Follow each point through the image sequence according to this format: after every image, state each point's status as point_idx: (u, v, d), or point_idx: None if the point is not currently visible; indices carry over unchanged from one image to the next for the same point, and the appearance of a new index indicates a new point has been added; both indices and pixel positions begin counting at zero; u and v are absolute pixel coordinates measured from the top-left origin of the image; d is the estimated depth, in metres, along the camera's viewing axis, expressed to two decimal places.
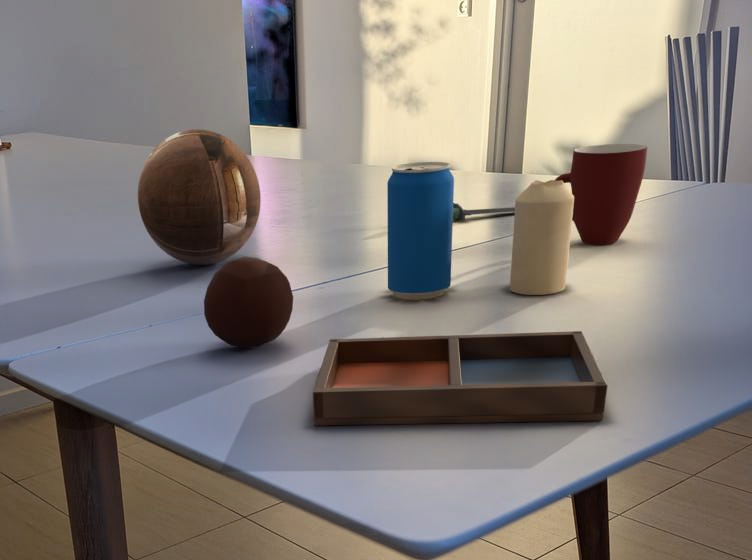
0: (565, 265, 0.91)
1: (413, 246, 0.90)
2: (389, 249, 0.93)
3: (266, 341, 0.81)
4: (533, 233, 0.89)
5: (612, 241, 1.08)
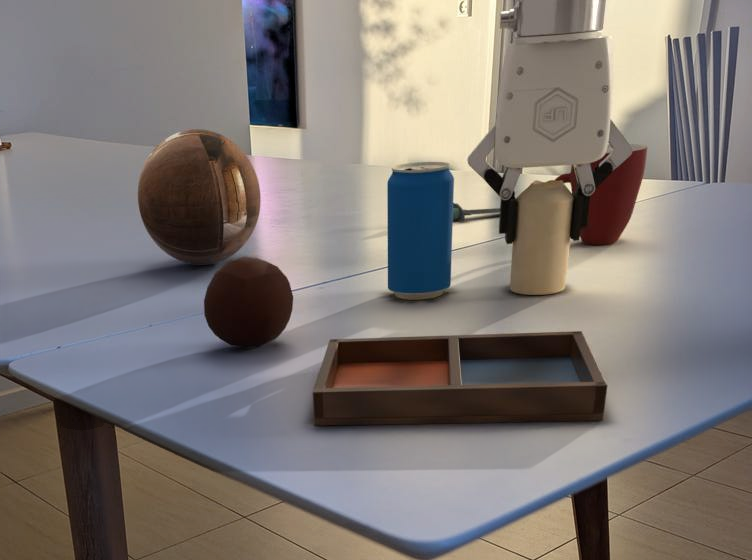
0: (565, 265, 0.91)
1: (413, 245, 0.90)
2: (389, 249, 0.93)
3: (266, 341, 0.81)
4: (533, 233, 0.89)
5: (612, 241, 1.08)
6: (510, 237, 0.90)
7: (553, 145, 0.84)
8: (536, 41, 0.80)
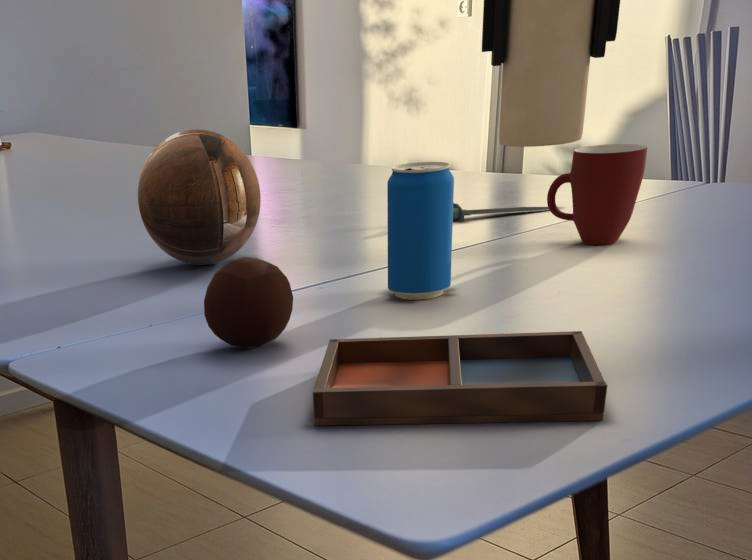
0: (582, 99, 0.60)
1: (413, 245, 0.90)
2: (389, 249, 0.93)
3: (266, 341, 0.81)
4: (533, 44, 0.57)
5: (612, 241, 1.08)
6: (498, 54, 0.59)
7: None
8: None
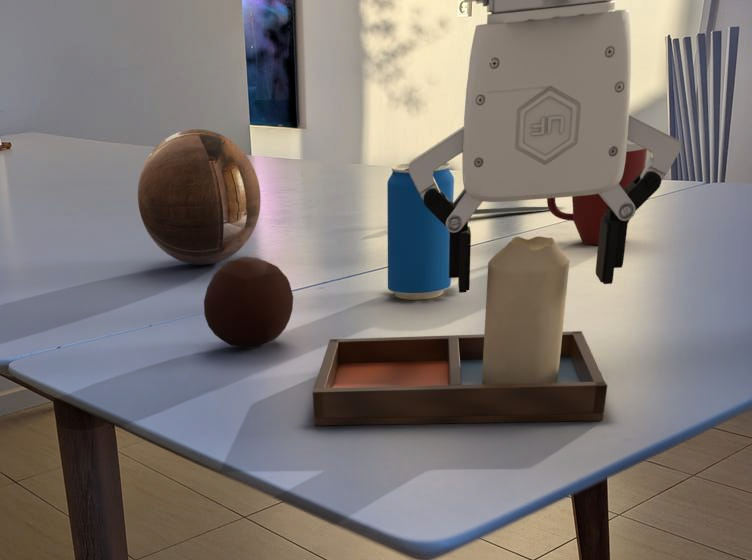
0: (557, 353, 0.66)
1: (413, 245, 0.90)
2: (389, 249, 0.93)
3: (266, 341, 0.81)
4: (512, 312, 0.64)
5: None
6: (463, 283, 0.64)
7: (545, 169, 0.58)
8: (517, 19, 0.54)
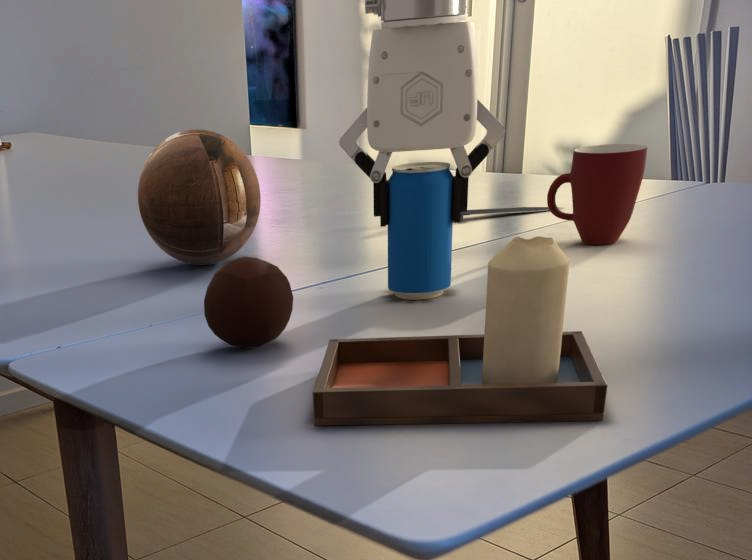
0: (557, 353, 0.66)
1: (413, 246, 0.90)
2: (389, 249, 0.93)
3: (266, 341, 0.81)
4: (512, 311, 0.64)
5: (612, 241, 1.08)
6: (383, 220, 0.91)
7: (421, 129, 0.85)
8: (397, 25, 0.80)
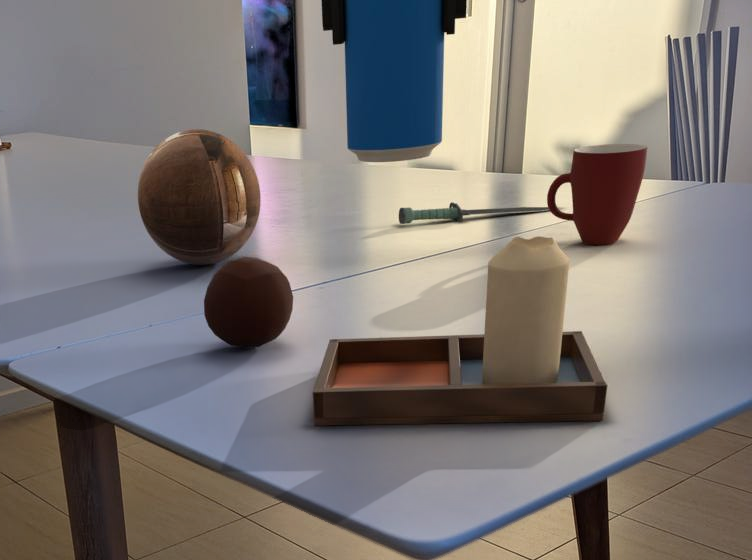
0: (557, 353, 0.66)
1: (383, 70, 0.58)
2: (347, 82, 0.61)
3: (266, 341, 0.81)
4: (512, 311, 0.64)
5: (612, 241, 1.08)
6: (336, 32, 0.59)
7: None
8: None
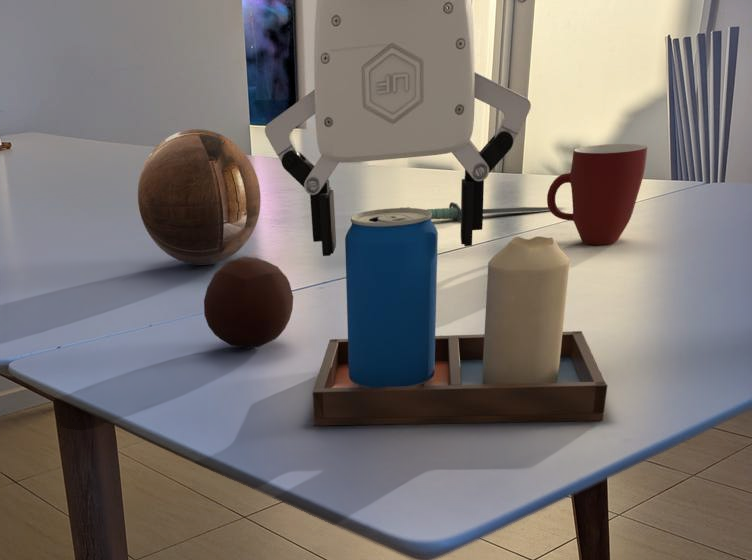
0: (557, 353, 0.66)
1: (381, 325, 0.65)
2: (349, 327, 0.67)
3: (266, 341, 0.81)
4: (512, 311, 0.64)
5: (612, 241, 1.08)
6: (326, 247, 0.64)
7: (394, 129, 0.58)
8: None
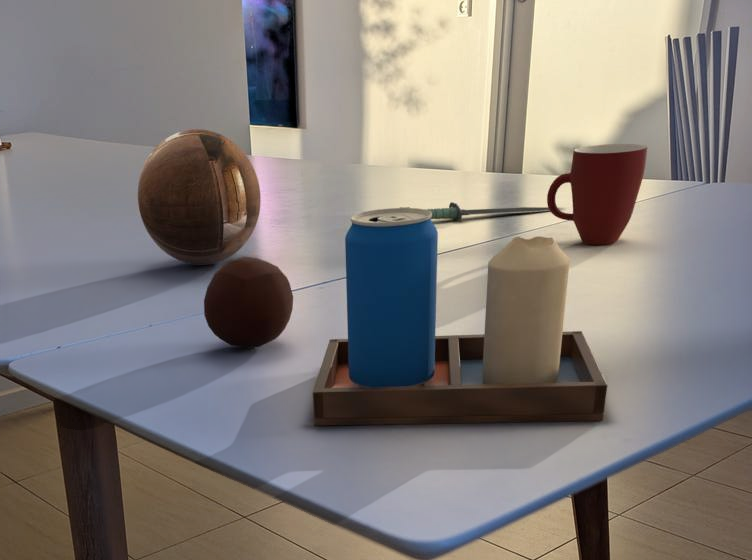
0: (557, 353, 0.66)
1: (381, 325, 0.65)
2: (349, 327, 0.67)
3: (266, 341, 0.81)
4: (512, 311, 0.64)
5: (612, 241, 1.08)
6: None
7: None
8: None
